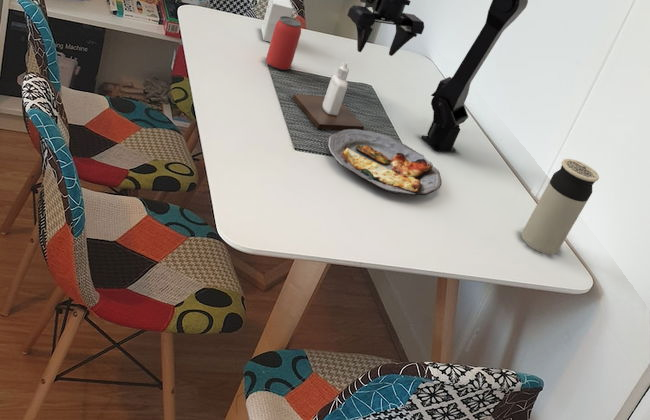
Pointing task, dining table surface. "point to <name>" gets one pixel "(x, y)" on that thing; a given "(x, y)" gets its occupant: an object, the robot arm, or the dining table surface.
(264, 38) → the small box
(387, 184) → the food plate
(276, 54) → the beer can
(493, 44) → the robot arm
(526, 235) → the travel mug
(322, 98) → the walnut board
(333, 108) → the eye dropper bottle
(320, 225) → the dining table surface
